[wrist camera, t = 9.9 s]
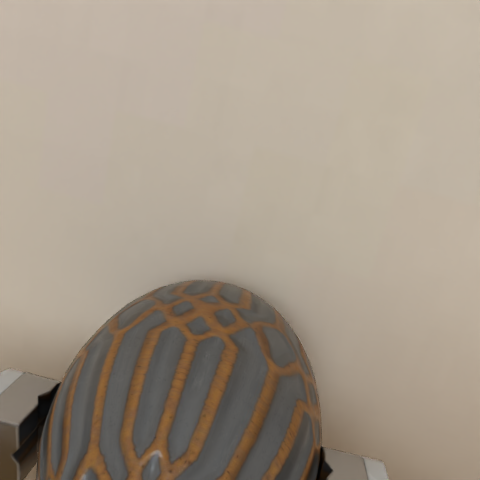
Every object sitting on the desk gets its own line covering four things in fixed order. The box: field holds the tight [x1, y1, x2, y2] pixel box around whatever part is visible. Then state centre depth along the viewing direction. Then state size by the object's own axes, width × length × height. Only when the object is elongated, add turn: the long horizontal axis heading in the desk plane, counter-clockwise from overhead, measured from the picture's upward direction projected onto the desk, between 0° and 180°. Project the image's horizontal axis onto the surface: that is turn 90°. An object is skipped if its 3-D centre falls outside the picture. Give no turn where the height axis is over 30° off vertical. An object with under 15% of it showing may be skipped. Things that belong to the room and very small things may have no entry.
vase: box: [36, 281, 322, 480], centre depth 9 cm, size 7×7×9 cm
